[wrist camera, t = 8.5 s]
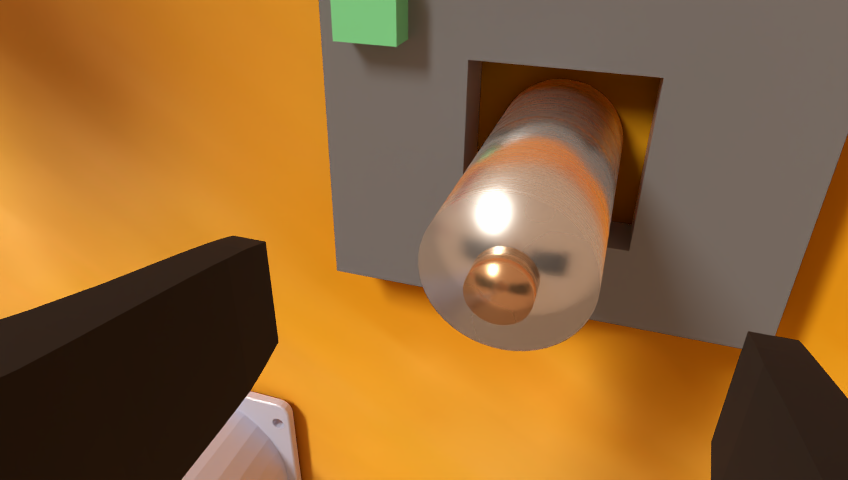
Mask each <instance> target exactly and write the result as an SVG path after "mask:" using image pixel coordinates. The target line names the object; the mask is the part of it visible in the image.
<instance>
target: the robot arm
mask: <svg viewBox="0 0 848 480" xmlns="http://www.w3.org/2000/svg"><path fill="white" fill-rule="evenodd" d="M277 344H278V334H277V326H276V319H275V311H274V303H273V295H272V288H271V280H270V272H269V265H268V257H267V249H266V242H264V241H259V240H253V239H248V238H243V237H237V236H230V237H226V238H223V239H219V240H216V241H213V242H210V243H207V244H204V245H201V246H199V247H196V248H193V249H191V250H188V251H185V252H183V253H180V254H177V255H175V256H172V257H170V258H167V259H165V260H162V261H159V262H157V263H154V264H152V265H149V266H147V267H144V268H142V269H139V270H136V271H134V272H131V273H129V274H126V275H124V276H121V277H119V278H116V279H113V280H111V281H108V282H106V283H103V284H101V285H98V286H95V287H92V288H89V289H87V290H84V291H81V292H78V293H76V294H73V295H70V296H67V297H64V298H62V299H59V300H56V301H53V302H50V303H48V304H45V305H42V306H39V307H37V308H34V309H31V310H28V311H25V312H22V313H19V314H16V315H13V316H10V317H7V318H3V319H0V480H301V474H300V466H299V458H298V450H297V442H296V434H295V426H294V418H293V411H292V408H291V406H290V405H289V404H288V403H287V402H286V401H284V400H282V399H278V398H274V397H270V396H267V395H263V394H259V393H255V392H251V389H252V387H253V386H254V384H255V382H256V381H257V379H258V377H259V376H260V374H261V372H262V371H263V369H264V367H265V365H266V364H267V362H268V360H269V358H270V356H271V355H272V353H273V351H274V349H275V347H276V346H277ZM711 480H848V398H847V397H846V396H845V395H844V393H843V392H842V391H841V390H840V389H839V387H838V386H837V385H836V384H835V383H834V381H833V380H832V379H831V378H830V376H829V375H828V374H827V373H826V372H825V370H824V369H823V368H822V367H821V366H820V364H819V363H818V362H817V361H816V360H815V358H814V357H813V356H812V355H811V354H810V352H809V351H808V350H807V349H806V348H805V347H804V346H803V344H802V343H801V342H800V341H799V340H793V339H788V338H783V337H777V336H772V335H766V334H761V333H756V332H750V331H748V333H747V336H746V339H745V342H744V345H743V348H742V351H741V354H740V357H739V360H738V363H737V366H736V369H735V372H734V375H733V378H732V381H731V384H730V387H729V390H728V393H727V396H726V399H725V402H724V405H723V408H722V411H721V414H720V417H719V420H718V423H717V426H716V429H715V432H714V435H713V438H712V441H711Z"/></svg>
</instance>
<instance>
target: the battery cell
mask: <svg viewBox="0 0 848 480" xmlns="http://www.w3.org/2000/svg"><path fill="white" fill-rule="evenodd" d="M622 146H623V128H622V124H621V120H620V118H619V115H618V113H617V111H616V109H615V108H614V106H613V105H612V103H611V102H610V101H609V100H608V99H607V98H606V97H605V96H604V95H603V94H602V93H601V92H599V91H598V90H597V89H595V88H593V87H592V86H590V85H588V84H585V83H583V82H580V81H576V80H571V79H552V80H546V81H543V82H539V83H537V84H534V85H532V86H530V87H529V88H527V89H525V90H524V91H523V92H521V93H520V94H519V95H518V96H517V97H516V98H515V99H514V100H513V101H512V103H511V104H510V105H509V107H508V108H507V110H506V111H505V113H504V114H503V116H502V117H501V119H500V120H499V122H498V123H497V125H496V126H495V128H494V129H493V131H492V132H491V134H490V135H489V137H488V138H487V140H486V141H485V143H484V144H483V146H482V147H481V149H480V150H479V152H478V153H477V154H476V156H475V157H474V159H473V160H472V162H471V163H470V165H469V166H468V168H467V169H466V171H465V172H464V174H463V175H462V177H461V178H460V180H459V181H458V183H457V184H456V186H455V187H454V189H453V190H452V192H451V193H450V195H449V196H448V198H447V199H446V201H445V202H444V204H443V205H442V207H441V208H440V210H439V211H438V212H437V214H436V215H435V217H434V218H433V220H432V221H431V223H430V224H429V226H428V228H427V229H426V231H425V233H424V235H423V238H422V241H421V244H420V248H419V254H418V268H419V275H420V279H421V283H422V286H423V288H424V291H425V293H426V295H427V297H428V299H429V301H430V302H431V304H432V305H433V307H434V308H435V309H436V311H437V312H438V313H439V314H440V315H441V316H442V318H443V319H444V320H445V321H447V322H448V323H449V324H450V325H451V326H452V327H453V328H455V329H456V330H458V331H459V332H460V333H462V334H464V335H465V336H467V337H469V338H471V339H473V340H475V341H477V342H479V343H482V344H485V345H488V346H491V347H494V348H499V349H503V350H512V351H530V350H538V349H543V348H547V347H550V346H553V345H556V344H558V343H561V342H563V341H565V340H567V339H568V338H570V337H571V336H573V335H574V334H575V333H576V332H578V331H579V330H580V329H581V328H582V327H583V326H584V325H585V323H586V322H587V321H588V320H589V318H590V317H591V315H592V313H593V311H594V310H595V307H596V304H597V302H598V298H599V293H600V288H601V281H602V275H603V268H604V262H605V255H606V249H607V242H608V236H609V230H610V223H611V217H612V210H613V204H614V197H615V191H616V185H617V178H618V172H619V165H620V159H621V152H622Z"/></svg>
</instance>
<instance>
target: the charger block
mask: <svg viewBox="0 0 848 480" xmlns="http://www.w3.org/2000/svg"><path fill="white" fill-rule="evenodd" d="M319 11H320V26H321V41H322V55H323V70H324V85H325V99H326V114H327V129H328V144H329V158H330V173H331V188H332V202H333V217H334V232H335V247H336V261H337V271H342V272H348V273H353V274H358V275H363V276H368V277H374V278H379V279H384V280H389V281H394V282H399V283H405V284H410V285H415V286H420V287H423V286H422V283H421V279H420V275H419V268H418V254H419V248H420V244H421V241H422V238H423V235H424V233H425V231H426V229H427V228H428V226H429V224H430V223H431V221H432V220H433V218H434V217H435V215H436V214H437V212H438V211H439V210H440V208H441V207H442V205H443V204H444V202H445V201H446V199H447V198H448V196H449V195H450V193H451V192H452V190H453V189H454V187H455V186H456V184H457V183H458V181H459V180H460V178H461V177H462V175H463V174H464V172H465V171H466V169H467V168H468V166H469V165H470V163H471V162H472V160H473V159H474V157H475V156H476V154H477V146H478V128H479V110H480V92H481V74H482V61H487V62H498V63H508V64H519V65H530V66H541V67H552V68H562V69H573V70H584V71H595V72H606V73H616V74H627V75H638V76H649V77H660V78H661V79H660V84H659V89H658V94H657V99H656V104H655V109H654V114H653V119H652V125H651V130H650V135H649V140H648V145H647V150H646V155H645V160H644V165H643V170H642V175H641V180H640V185H639V190H638V196H637V201H636V206H635V211H634V216H633V221H632V224H627V223H620V222H614V221H611V223H610V230H609V236H608V242H607V249H606V255H605V262H604V268H603V275H602V281H601V288H600V293H599V298H598V302H597V304H596V307H595V310H594V311H593V313H592V315H591V317H590V318H589V319H591V320H596V321H601V322H606V323H611V324H616V325H622V326H627V327H632V328H637V329H642V330H648V331H653V332H658V333H663V334H668V335H673V336H679V337H684V338H689V339H694V340H699V341H704V342H710V343H715V344H720V345H725V346H730V347H735V348H741V349H742V348H743V345H744V342H745V339H746V336H747V333H748V331H750V332H756V333H761V334H766V335H772V336H775V334H776V332H777V329H778V326H779V323H780V320H781V318H782V315H783V312H784V309H785V307H786V304H787V301H788V298H789V295H790V293H791V290H792V287H793V284H794V282H795V279H796V276H797V273H798V270H799V268H800V265H801V262H802V259H803V257H804V254H805V251H806V248H807V245H808V243H809V240H810V237H811V234H812V232H813V229H814V226H815V223H816V220H817V218H818V215H819V212H820V209H821V207H822V204H823V201H824V198H825V195H826V193H827V190H828V187H829V184H830V182H831V179H832V176H833V173H834V170H835V168H836V165H837V162H838V159H839V157H840V154H841V151H842V148H843V145H844V143H845V140H846V137H847V134H848V0H319Z"/></svg>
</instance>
